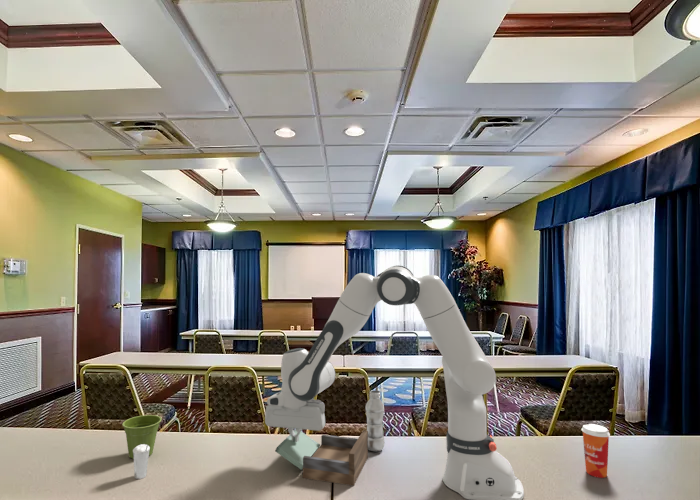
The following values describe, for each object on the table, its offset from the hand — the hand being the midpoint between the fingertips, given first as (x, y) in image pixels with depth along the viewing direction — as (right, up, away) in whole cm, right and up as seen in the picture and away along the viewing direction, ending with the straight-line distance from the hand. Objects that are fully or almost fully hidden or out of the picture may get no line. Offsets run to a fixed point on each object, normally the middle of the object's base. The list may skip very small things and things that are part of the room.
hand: (295, 441), depth 133 cm
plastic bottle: (+27, -7, +9) cm, 29 cm away
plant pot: (-53, -7, +4) cm, 53 cm away
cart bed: (+14, -7, -4) cm, 16 cm away
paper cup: (+95, -7, -7) cm, 96 cm away
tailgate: (+6, -4, -2) cm, 7 cm away
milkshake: (-45, -6, -11) cm, 47 cm away
